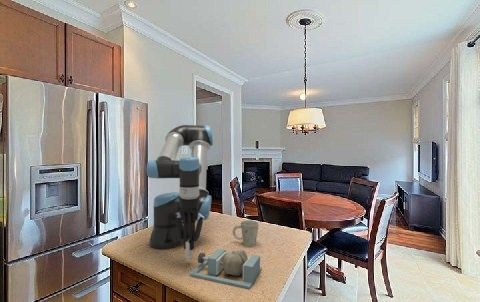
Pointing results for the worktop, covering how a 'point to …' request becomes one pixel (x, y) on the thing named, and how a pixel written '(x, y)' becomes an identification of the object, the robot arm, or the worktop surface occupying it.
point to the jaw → (213, 261)
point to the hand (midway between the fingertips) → (189, 257)
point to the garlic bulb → (234, 262)
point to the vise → (249, 277)
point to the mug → (248, 232)
